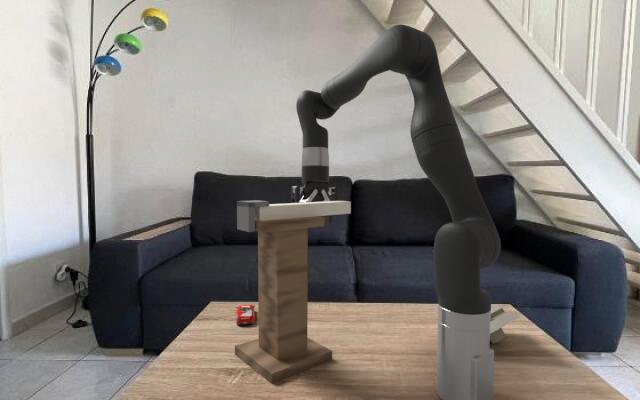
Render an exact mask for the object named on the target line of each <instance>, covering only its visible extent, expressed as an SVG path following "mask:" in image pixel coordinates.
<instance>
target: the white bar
mask: <svg viewBox="0 0 640 400" xmlns="http://www.w3.org/2000/svg"><path fill="white" fill-rule="evenodd" d="M351 204H352V201H347V200H338V201H324V202H305V203H291V202H290V203H270V201H267V200H258V199H254V200H252V199H251V200H236V222H237V223H236V226H237V227H236V229H237V230H239V231H243V232H247V233H252V232H256V231H255V220H258V221H265V220H277V219H289V218H302V217H314V216H318V217H324V216H326V215H332V216H336V215H347V214H348V215H349V214H351V213H352V205H351Z"/></svg>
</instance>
